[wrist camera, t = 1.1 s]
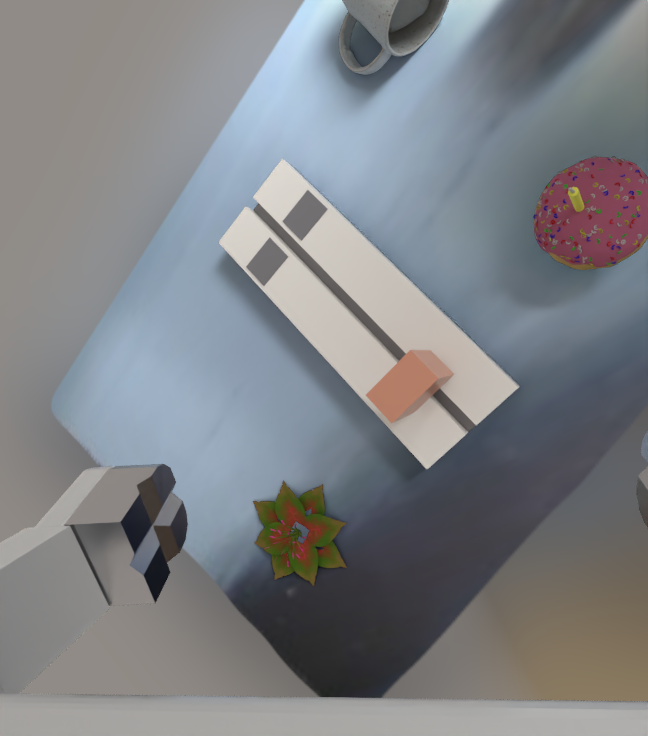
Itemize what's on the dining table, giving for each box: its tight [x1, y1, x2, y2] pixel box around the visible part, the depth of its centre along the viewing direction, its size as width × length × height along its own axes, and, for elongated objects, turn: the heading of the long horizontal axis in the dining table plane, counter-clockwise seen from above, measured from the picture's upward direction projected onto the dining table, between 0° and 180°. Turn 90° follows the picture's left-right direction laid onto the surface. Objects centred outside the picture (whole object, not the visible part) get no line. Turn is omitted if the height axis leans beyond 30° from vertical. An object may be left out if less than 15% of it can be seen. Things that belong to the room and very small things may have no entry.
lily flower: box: [253, 480, 347, 586], centre depth 53 cm, size 12×12×5 cm
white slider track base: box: [219, 159, 520, 469], centre depth 50 cm, size 11×32×3 cm, turn 45°
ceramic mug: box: [339, 0, 449, 75], centre depth 46 cm, size 11×8×8 cm
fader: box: [366, 350, 454, 423], centre depth 43 cm, size 5×3×10 cm, turn 135°
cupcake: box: [534, 156, 648, 270], centre depth 38 cm, size 9×8×12 cm
